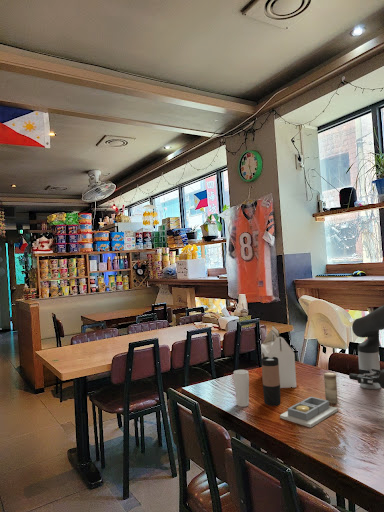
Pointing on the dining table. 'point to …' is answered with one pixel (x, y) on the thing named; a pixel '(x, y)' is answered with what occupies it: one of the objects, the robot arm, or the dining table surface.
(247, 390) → the white cylinder
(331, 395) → the lidded cup
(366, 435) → the dining table surface
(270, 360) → the travel mug
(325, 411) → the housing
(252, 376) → the dining table surface
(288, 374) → the gable box
